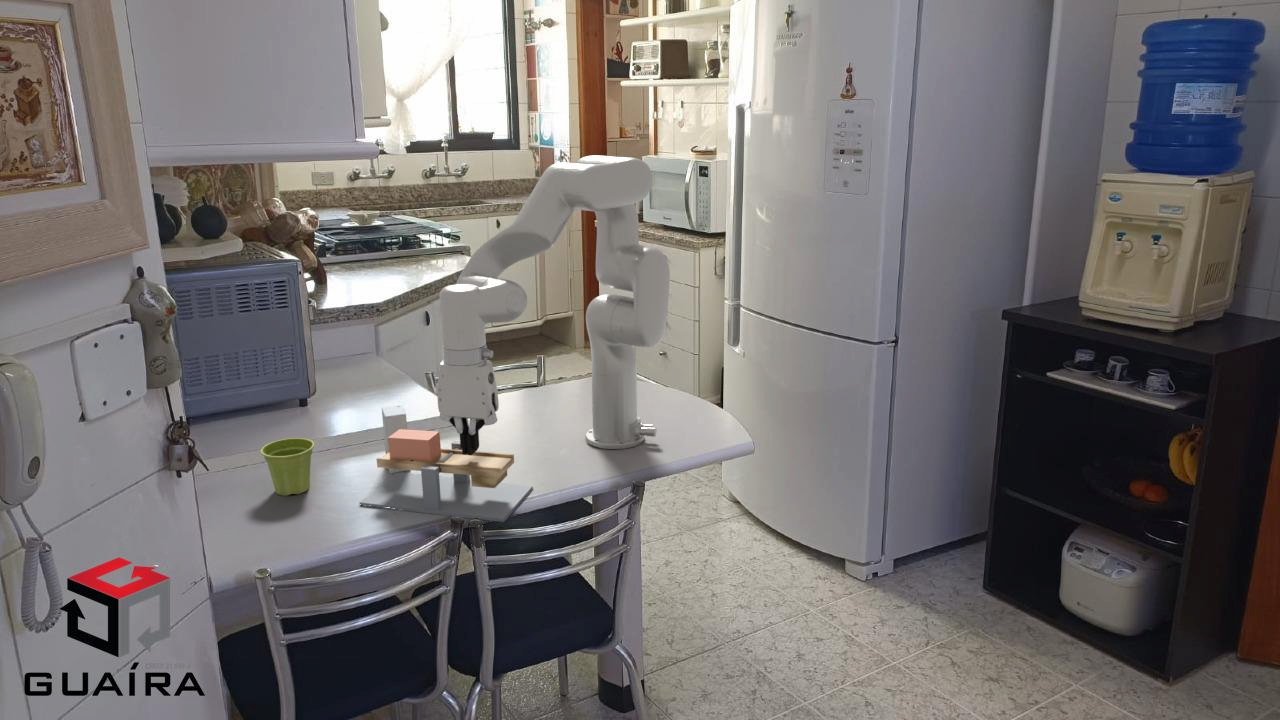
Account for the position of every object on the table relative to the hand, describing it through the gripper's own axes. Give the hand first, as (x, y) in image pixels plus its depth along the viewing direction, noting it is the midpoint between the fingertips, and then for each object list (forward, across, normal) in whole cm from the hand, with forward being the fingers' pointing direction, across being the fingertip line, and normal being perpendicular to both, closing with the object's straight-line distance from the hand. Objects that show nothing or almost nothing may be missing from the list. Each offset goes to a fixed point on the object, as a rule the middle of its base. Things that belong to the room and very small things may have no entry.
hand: (470, 452), depth 170 cm
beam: (+5, +5, 0) cm, 7 cm away
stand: (+9, +5, 0) cm, 11 cm away
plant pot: (+10, +35, +4) cm, 37 cm away
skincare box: (+10, +21, -11) cm, 26 cm away
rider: (+2, +11, 0) cm, 11 cm away
